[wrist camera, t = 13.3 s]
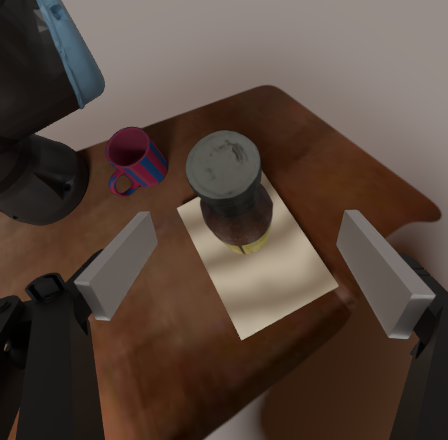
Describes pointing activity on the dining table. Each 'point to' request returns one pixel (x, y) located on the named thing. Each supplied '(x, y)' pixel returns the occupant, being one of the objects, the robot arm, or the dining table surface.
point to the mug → (135, 159)
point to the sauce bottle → (231, 190)
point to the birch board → (261, 268)
